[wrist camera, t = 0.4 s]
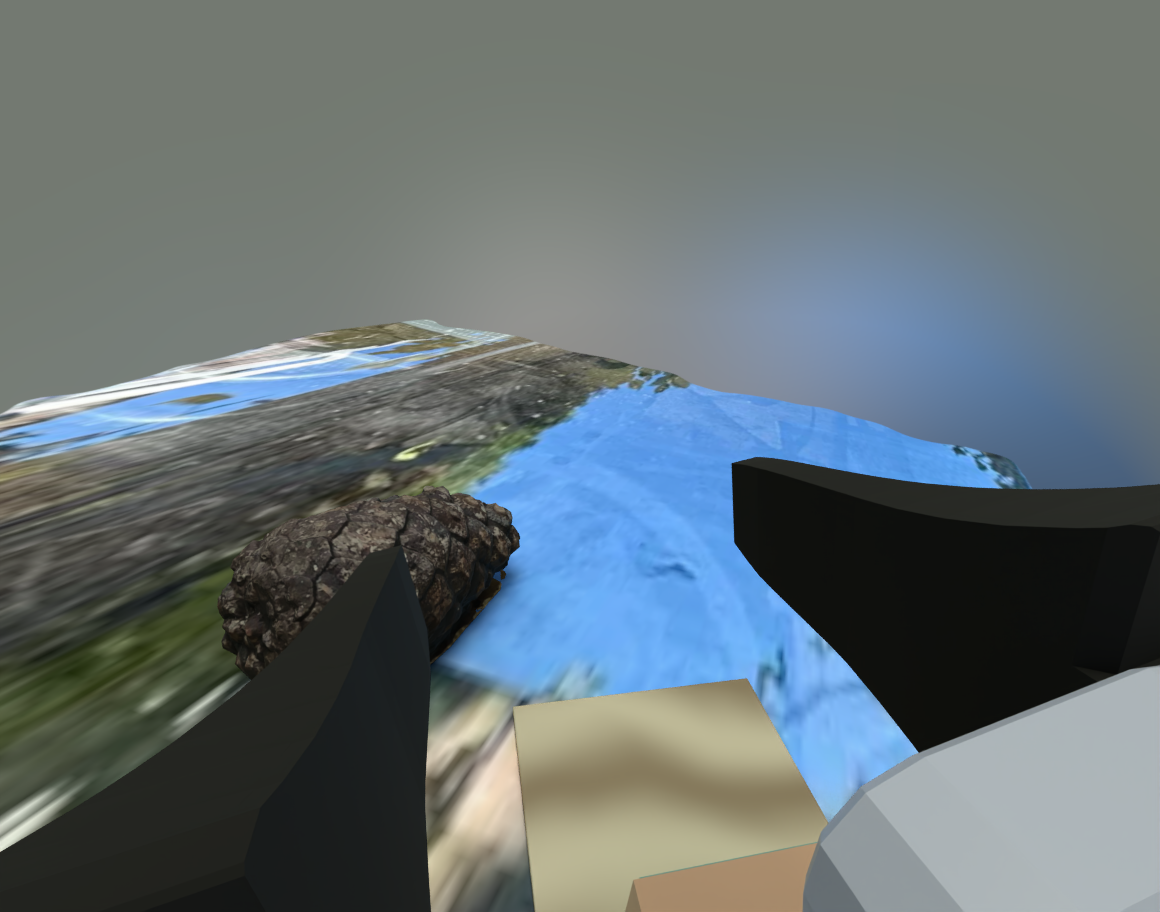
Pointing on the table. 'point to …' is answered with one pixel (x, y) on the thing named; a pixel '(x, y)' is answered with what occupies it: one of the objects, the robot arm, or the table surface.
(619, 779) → the board
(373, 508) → the pine cone
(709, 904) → the block
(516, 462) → the table surface
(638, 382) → the table surface
